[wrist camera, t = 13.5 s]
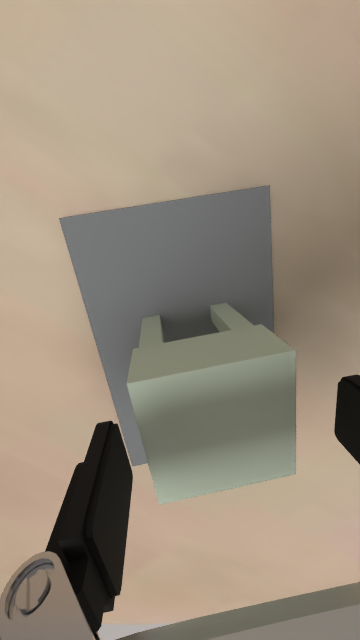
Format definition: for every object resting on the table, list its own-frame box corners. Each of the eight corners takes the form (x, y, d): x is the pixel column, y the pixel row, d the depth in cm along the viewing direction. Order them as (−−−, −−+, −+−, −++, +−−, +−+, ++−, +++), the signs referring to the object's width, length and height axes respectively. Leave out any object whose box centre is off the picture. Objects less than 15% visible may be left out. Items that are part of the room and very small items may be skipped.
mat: (265, 187, 15) (269, 185, 15) (273, 430, 22) (277, 435, 21) (62, 219, 15) (59, 218, 14) (133, 460, 21) (132, 466, 21)
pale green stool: (228, 299, 17) (295, 350, 9) (236, 376, 19) (296, 474, 11) (139, 315, 17) (126, 384, 9) (156, 392, 19) (159, 505, 11)
